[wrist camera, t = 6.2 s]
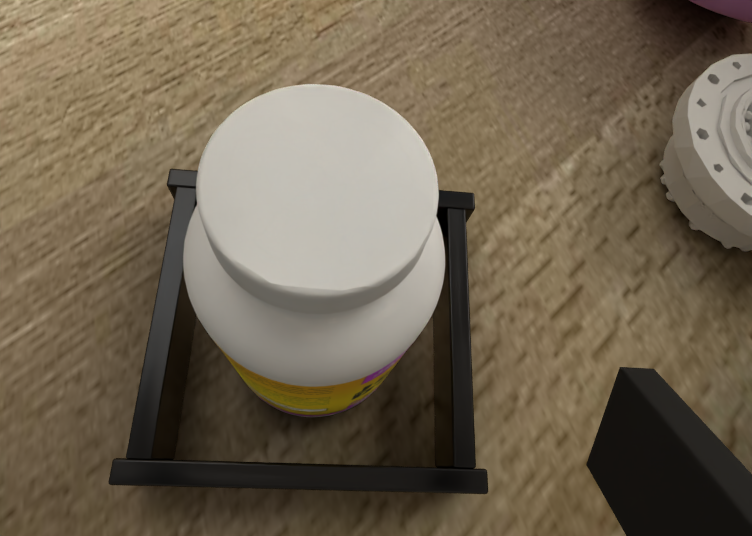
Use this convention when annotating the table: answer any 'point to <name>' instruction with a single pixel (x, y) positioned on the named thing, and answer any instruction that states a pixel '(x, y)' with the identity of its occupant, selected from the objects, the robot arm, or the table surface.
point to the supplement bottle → (314, 245)
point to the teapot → (729, 8)
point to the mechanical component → (714, 153)
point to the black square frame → (158, 468)
